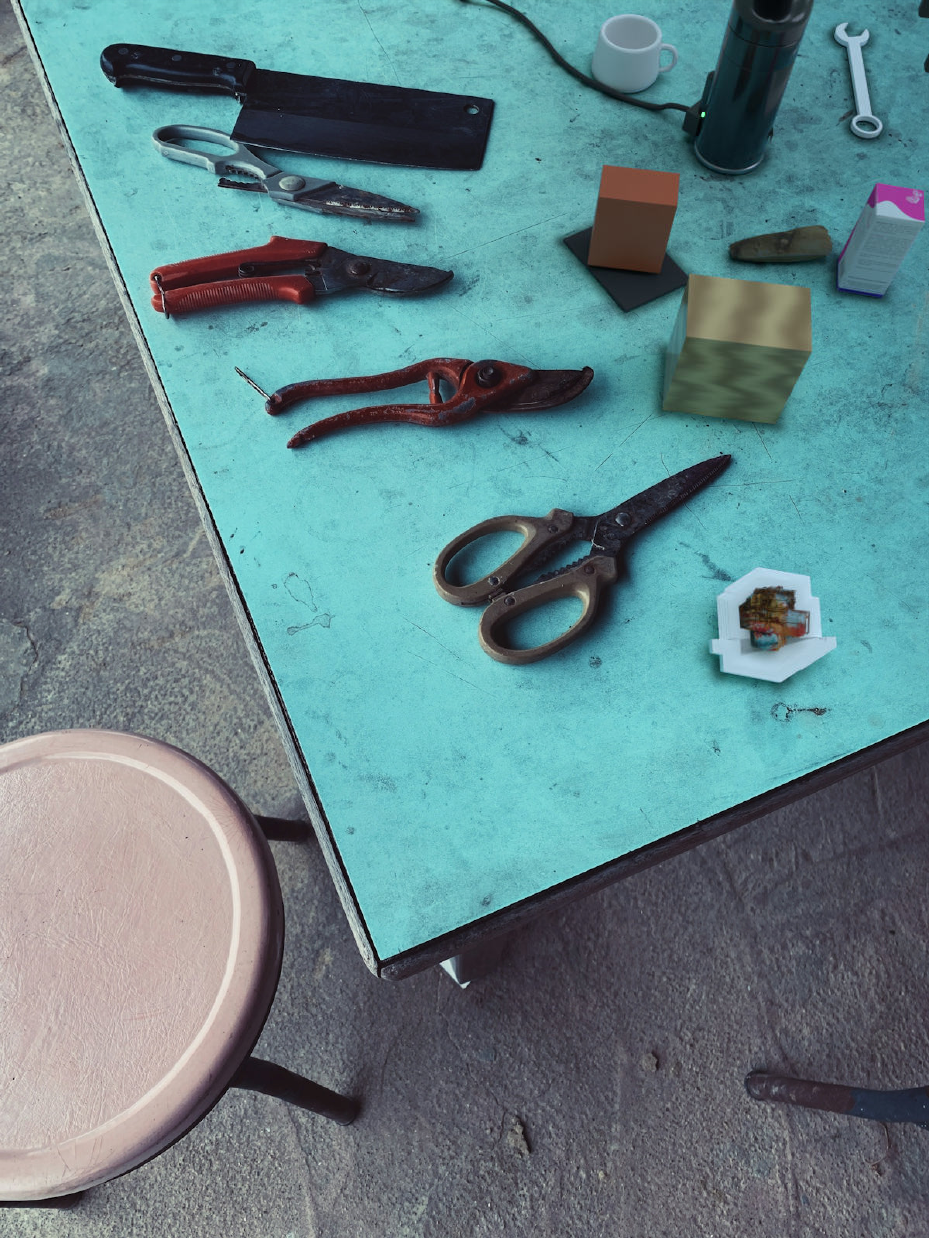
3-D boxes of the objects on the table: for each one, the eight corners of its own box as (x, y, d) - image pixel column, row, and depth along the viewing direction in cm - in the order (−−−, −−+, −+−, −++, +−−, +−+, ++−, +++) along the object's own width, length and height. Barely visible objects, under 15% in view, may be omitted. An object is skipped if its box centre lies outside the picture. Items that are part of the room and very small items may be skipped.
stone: (820, 235, 120) (826, 220, 118) (833, 262, 117) (840, 248, 115) (723, 247, 119) (727, 233, 116) (735, 275, 116) (739, 261, 114)
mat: (562, 241, 118) (563, 238, 118) (626, 214, 121) (627, 211, 120) (625, 313, 113) (626, 310, 113) (691, 283, 116) (691, 280, 115)
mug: (586, 91, 132) (592, 49, 126) (594, 49, 136) (600, 7, 130) (670, 102, 131) (679, 60, 125) (676, 60, 135) (685, 18, 130)
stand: (775, 364, 110) (810, 287, 99) (775, 424, 106) (812, 351, 95) (666, 351, 111) (689, 273, 100) (662, 410, 107) (685, 336, 96)
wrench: (865, 28, 139) (832, 26, 139) (867, 24, 138) (834, 21, 138) (884, 139, 128) (849, 137, 128) (886, 135, 127) (851, 132, 127)
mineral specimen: (818, 570, 95) (842, 557, 88) (826, 683, 94) (850, 678, 87) (701, 573, 96) (714, 560, 89) (706, 685, 95) (720, 681, 88)
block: (680, 172, 108) (603, 163, 108) (677, 206, 105) (598, 196, 106) (661, 246, 118) (590, 237, 118) (658, 278, 115) (586, 270, 116)
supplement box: (883, 299, 115) (926, 223, 105) (835, 291, 115) (873, 215, 105) (884, 265, 117) (925, 188, 107) (836, 258, 118) (873, 180, 108)
